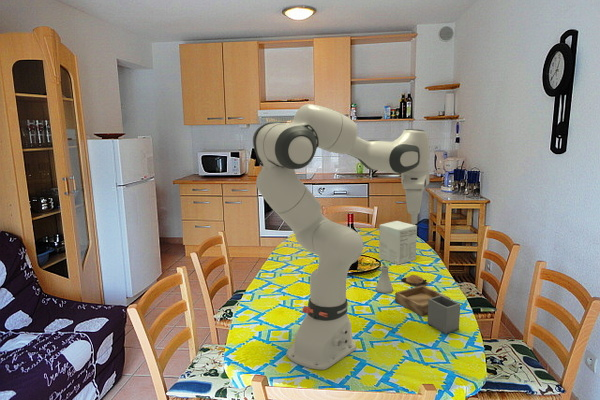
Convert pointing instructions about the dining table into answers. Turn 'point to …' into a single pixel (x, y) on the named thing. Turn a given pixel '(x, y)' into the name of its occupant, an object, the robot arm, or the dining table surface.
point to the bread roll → (415, 281)
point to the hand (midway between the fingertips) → (415, 218)
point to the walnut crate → (416, 299)
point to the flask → (384, 281)
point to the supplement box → (397, 242)
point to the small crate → (443, 314)
